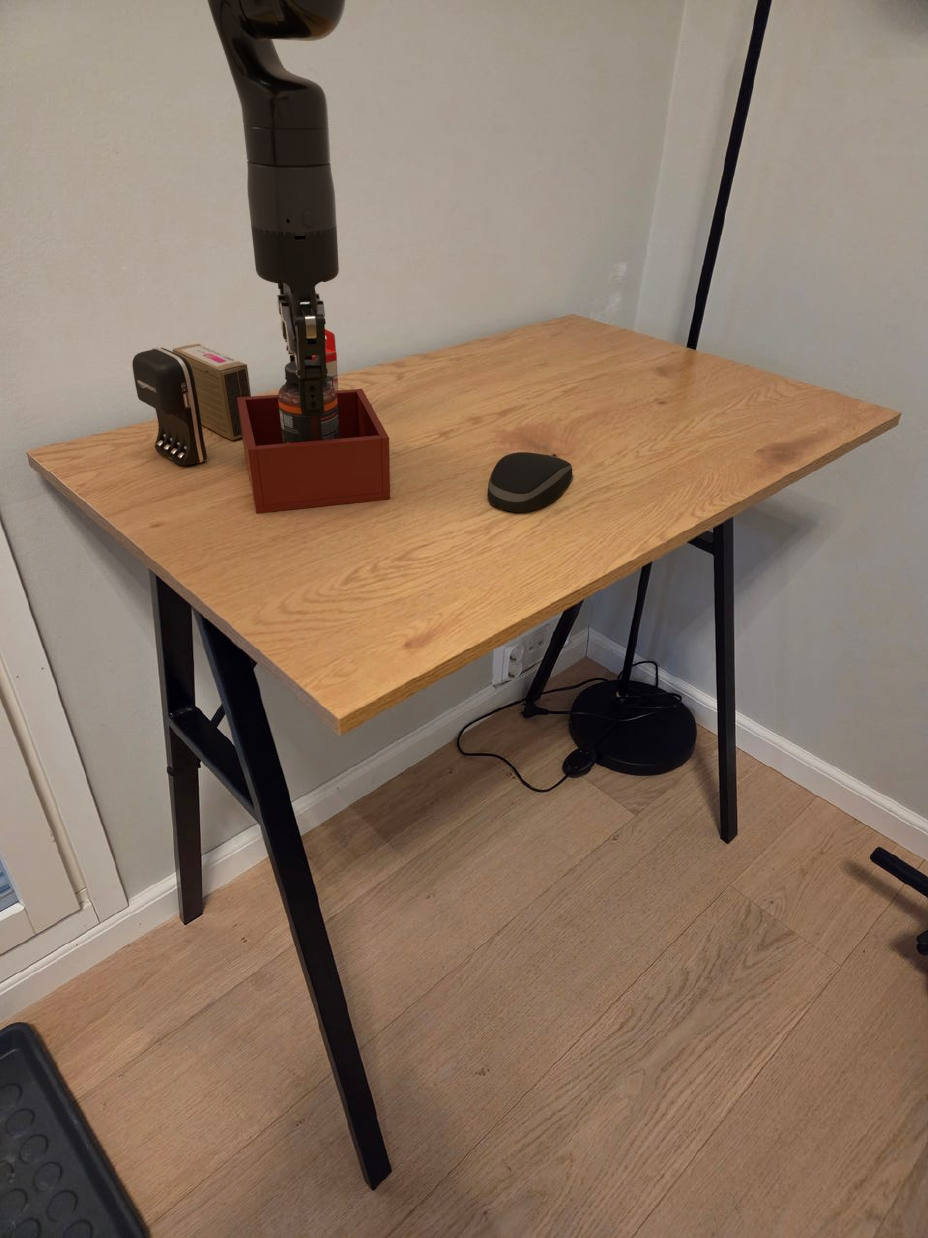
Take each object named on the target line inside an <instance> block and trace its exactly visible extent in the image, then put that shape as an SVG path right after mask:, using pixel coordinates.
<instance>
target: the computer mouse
mask: <svg viewBox="0 0 928 1238" xmlns="http://www.w3.org/2000/svg"><path fill="white" fill-rule="evenodd" d="M572 479H573V466H572V463H570V462H569V461H567V460H564V459H563V458H560V457H558V456H557V454H556V453H553V454H551V455H549V454H543V453H536V452H531V451H530V452H528V451H521V452H512V453H509V454H506V455H504V456H503V457H501V458H500V459H499V460H498V461H497V462H496V463H495V466H494V467H493V469H492V471H491V474H490V476H489V479H488V485H487V492H486V493H487V500H488V502H489V503H490V504H491V505H493V506H495V507H497V508H499V509H501V510H505V511H508V512H513V513H526V512H527V513H529V512H531V511H536V510H539V509H541V508H543V507H545V506H548V505H550V504H551V503H553V502H554V501H556V500H557V499H558V498H559V497H561V495H562V494H563V493H564V492H565V491H566V490H567V488H568V487H569V486H570V484H571V481H572Z"/></svg>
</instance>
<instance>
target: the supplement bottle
mask: <svg viewBox="0 0 928 1238" xmlns="http://www.w3.org/2000/svg"><path fill="white" fill-rule="evenodd" d="M305 365H316V361H315V360H305ZM284 373H285V374H284V376H285V377H284V379H285V380H286V381H285V383H284V384H282V385H281V387H280V388H279V390H278V392H277V395H278V401H279V411H280V420H281V429H282V438H283V444H285V443H296V442H308V441H320V440H331V439H340V432H339V417H338V403H337V393H336V390H335V388H334V387H333V386H332V385H331V384H330V383H328V382H327V381H326V378H322V383H323V398H324V413H323V414H322V415H320V416H307V417H306V416H304V415H303V414H302V412H301V406H300V394H299V382H298V377H297V376H296V362H295V361H293V362H290V361H289V362H288V363H287V364H285V366H284Z"/></svg>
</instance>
